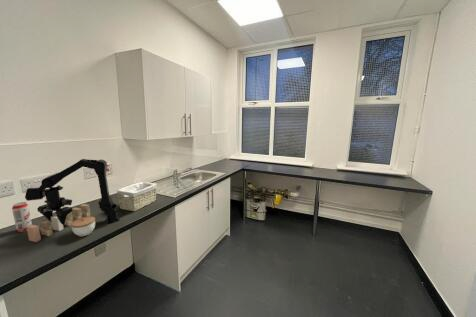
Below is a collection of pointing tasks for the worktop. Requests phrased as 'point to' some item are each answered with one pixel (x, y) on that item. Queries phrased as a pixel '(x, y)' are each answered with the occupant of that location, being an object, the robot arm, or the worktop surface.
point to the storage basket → (137, 195)
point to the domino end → (33, 233)
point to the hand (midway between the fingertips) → (57, 223)
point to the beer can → (21, 216)
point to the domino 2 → (56, 223)
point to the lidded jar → (83, 226)
